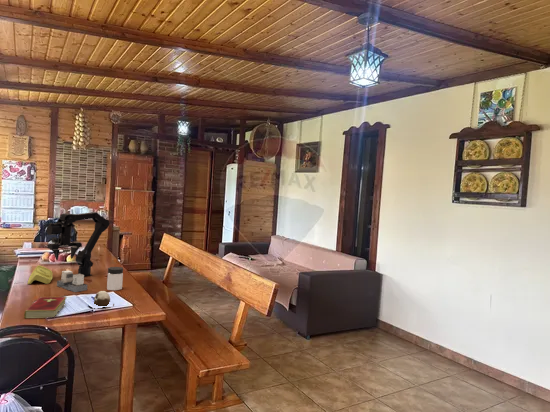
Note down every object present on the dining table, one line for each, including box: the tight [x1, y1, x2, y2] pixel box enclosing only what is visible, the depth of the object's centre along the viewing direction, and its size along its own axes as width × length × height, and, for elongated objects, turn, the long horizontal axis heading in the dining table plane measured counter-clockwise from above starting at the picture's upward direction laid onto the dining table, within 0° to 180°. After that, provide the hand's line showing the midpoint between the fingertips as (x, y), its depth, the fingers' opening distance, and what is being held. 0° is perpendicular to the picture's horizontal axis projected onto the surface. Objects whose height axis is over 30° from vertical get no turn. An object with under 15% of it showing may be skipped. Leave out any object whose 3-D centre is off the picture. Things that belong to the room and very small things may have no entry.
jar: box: [106, 266, 124, 291], centre depth 226 cm, size 9×8×12 cm
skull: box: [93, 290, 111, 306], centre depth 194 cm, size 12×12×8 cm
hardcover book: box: [23, 296, 68, 319], centre depth 181 cm, size 12×21×4 cm, turn 16°
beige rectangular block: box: [60, 270, 74, 283], centre depth 223 cm, size 4×5×7 cm
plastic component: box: [27, 264, 54, 285], centre depth 231 cm, size 20×7×10 cm
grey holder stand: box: [56, 273, 88, 293], centre depth 220 cm, size 7×18×8 cm, turn 59°
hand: (64, 259), depth 238 cm, fingers open, 9 cm apart
